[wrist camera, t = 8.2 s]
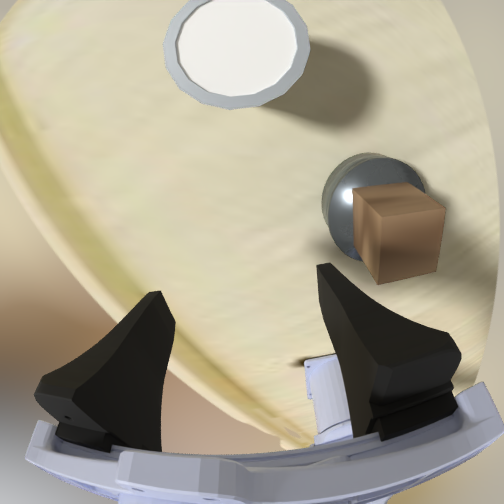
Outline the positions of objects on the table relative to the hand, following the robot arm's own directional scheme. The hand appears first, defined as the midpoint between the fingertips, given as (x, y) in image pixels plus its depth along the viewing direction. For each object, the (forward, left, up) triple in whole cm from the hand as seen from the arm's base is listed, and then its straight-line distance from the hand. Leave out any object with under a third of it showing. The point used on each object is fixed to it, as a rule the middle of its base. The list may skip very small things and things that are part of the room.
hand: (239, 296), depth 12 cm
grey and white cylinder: (+11, -2, -11) cm, 15 cm away
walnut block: (-1, -10, -8) cm, 13 cm away
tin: (-1, -10, -11) cm, 15 cm away
